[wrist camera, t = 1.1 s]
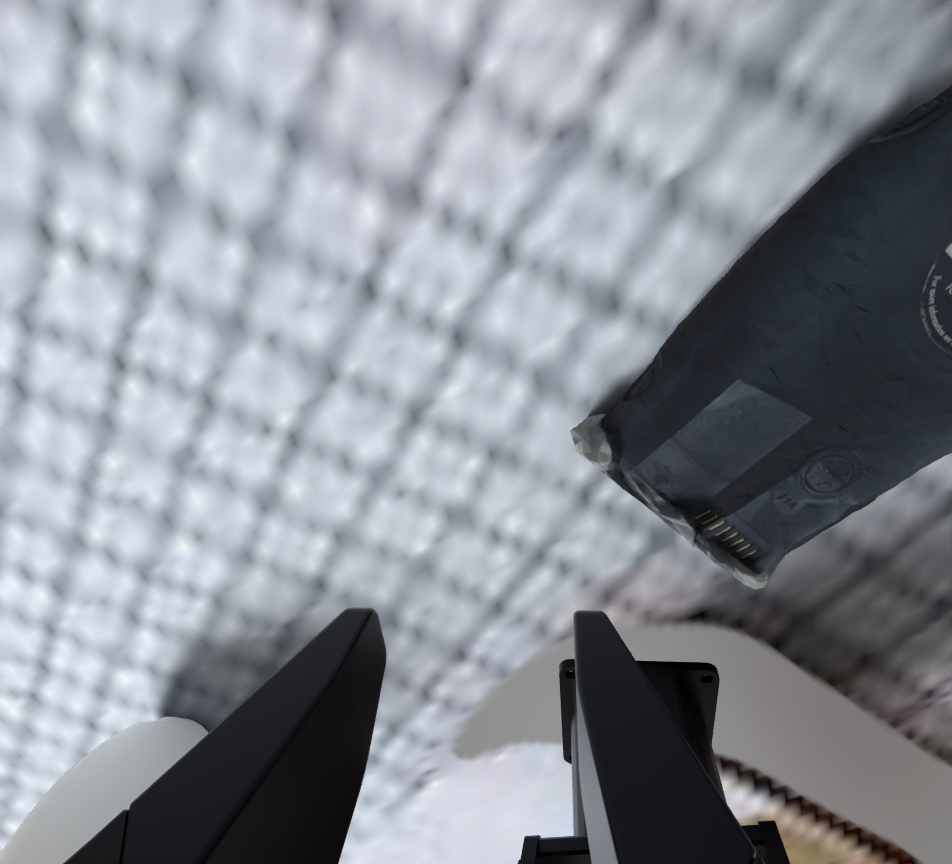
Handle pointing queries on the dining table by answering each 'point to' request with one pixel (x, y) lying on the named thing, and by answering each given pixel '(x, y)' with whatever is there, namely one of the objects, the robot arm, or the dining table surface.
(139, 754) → the sauce bottle
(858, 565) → the dining table surface
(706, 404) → the electronic device
